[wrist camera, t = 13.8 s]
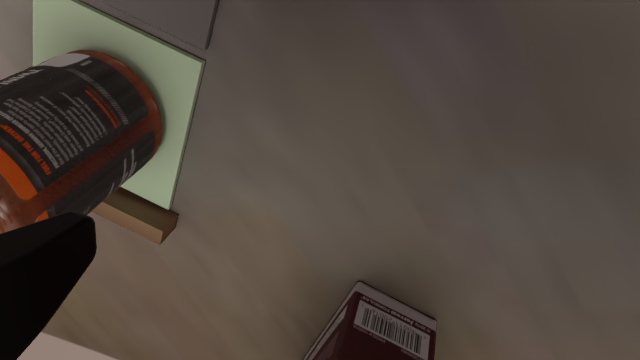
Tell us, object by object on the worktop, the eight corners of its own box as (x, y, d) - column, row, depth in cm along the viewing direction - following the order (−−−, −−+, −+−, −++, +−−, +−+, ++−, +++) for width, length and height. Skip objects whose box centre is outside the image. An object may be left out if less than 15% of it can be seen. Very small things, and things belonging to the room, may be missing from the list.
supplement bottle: (58, 21, 21) (-280, 131, 11) (179, 81, 21) (-62, 241, 11) (53, 131, 24) (-210, 283, 15) (157, 183, 24) (-43, 369, 15)
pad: (38, -19, 20) (33, -18, 20) (205, 61, 20) (202, 63, 20) (36, 140, 25) (32, 143, 25) (171, 206, 25) (168, 209, 25)
